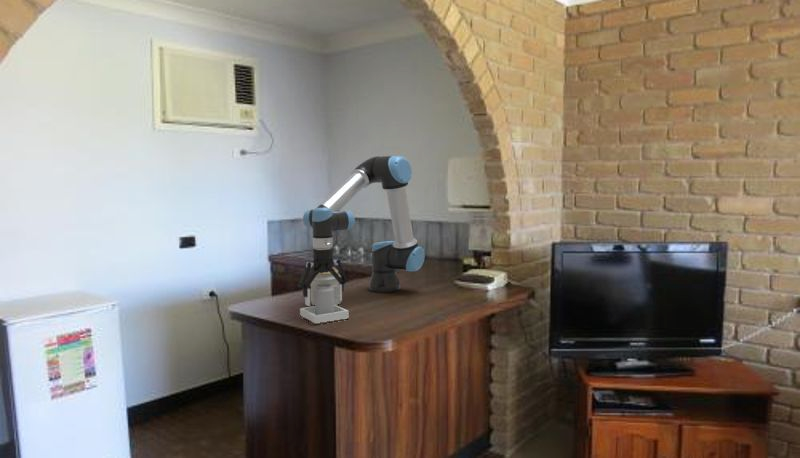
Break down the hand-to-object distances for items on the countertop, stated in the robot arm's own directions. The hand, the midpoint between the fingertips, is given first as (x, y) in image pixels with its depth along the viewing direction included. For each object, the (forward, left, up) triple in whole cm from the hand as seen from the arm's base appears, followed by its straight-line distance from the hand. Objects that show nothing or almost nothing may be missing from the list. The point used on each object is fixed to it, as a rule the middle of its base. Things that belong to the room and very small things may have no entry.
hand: (323, 302), depth 210 cm
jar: (-21, +11, -6) cm, 25 cm away
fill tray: (0, 0, -6) cm, 6 cm away
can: (0, 0, -5) cm, 5 cm away
